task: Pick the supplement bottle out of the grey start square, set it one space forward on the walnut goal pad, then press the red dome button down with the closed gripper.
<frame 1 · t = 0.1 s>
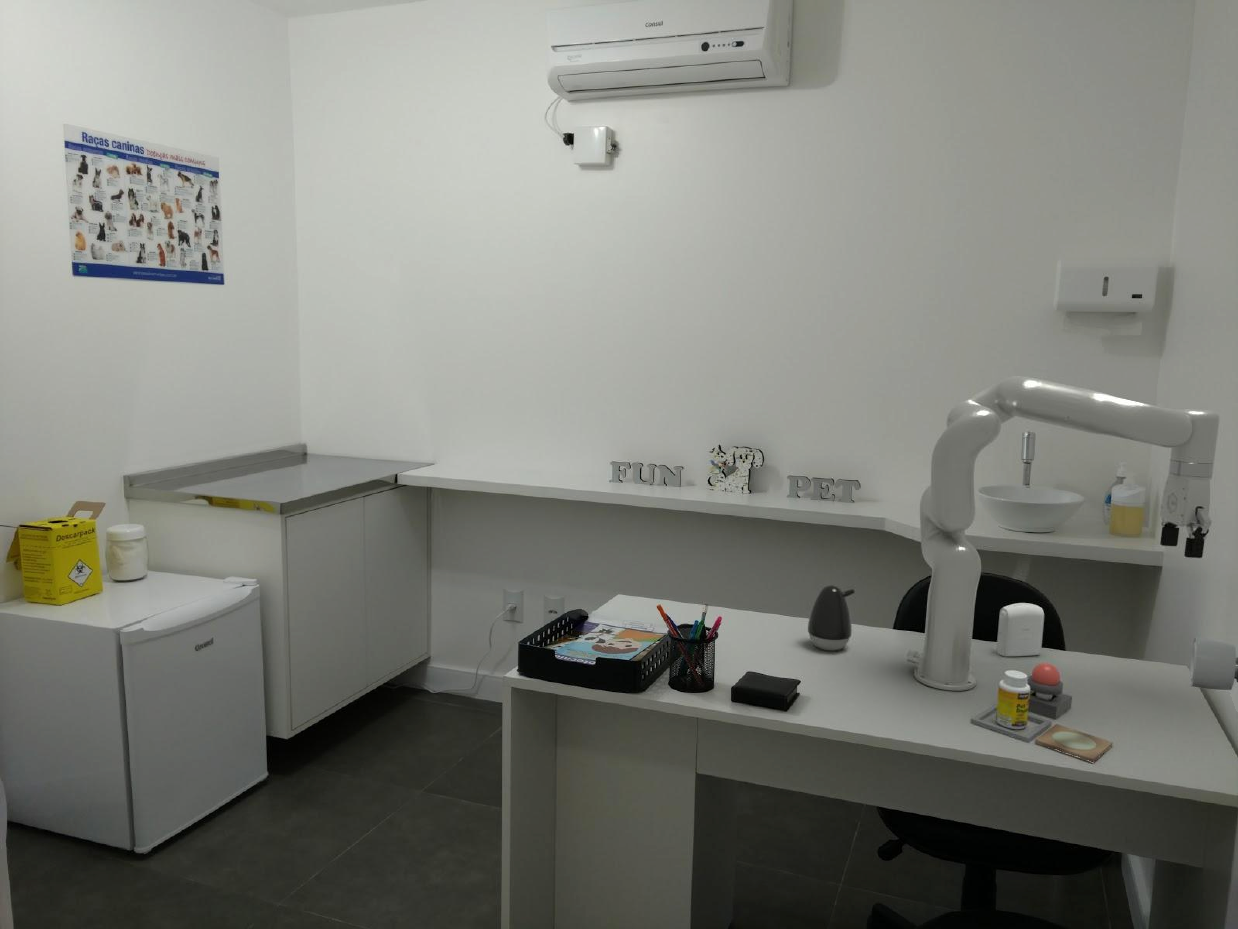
hand: (1180, 551, 183), 31 cm above the table, tool pointing down, fingers open, 9 cm apart
goal pad: (1073, 745, 163), on the table
supplement bottle: (1010, 725, 171), resting in start square
dome housing: (1042, 707, 179), on the table
start square: (1010, 724, 171), on the table
photo printer: (1018, 654, 209), on the table
pump dispenser: (828, 647, 211), on the table
dome cap: (1045, 682, 179), point 5 cm above the table, slide at 0.0 cm
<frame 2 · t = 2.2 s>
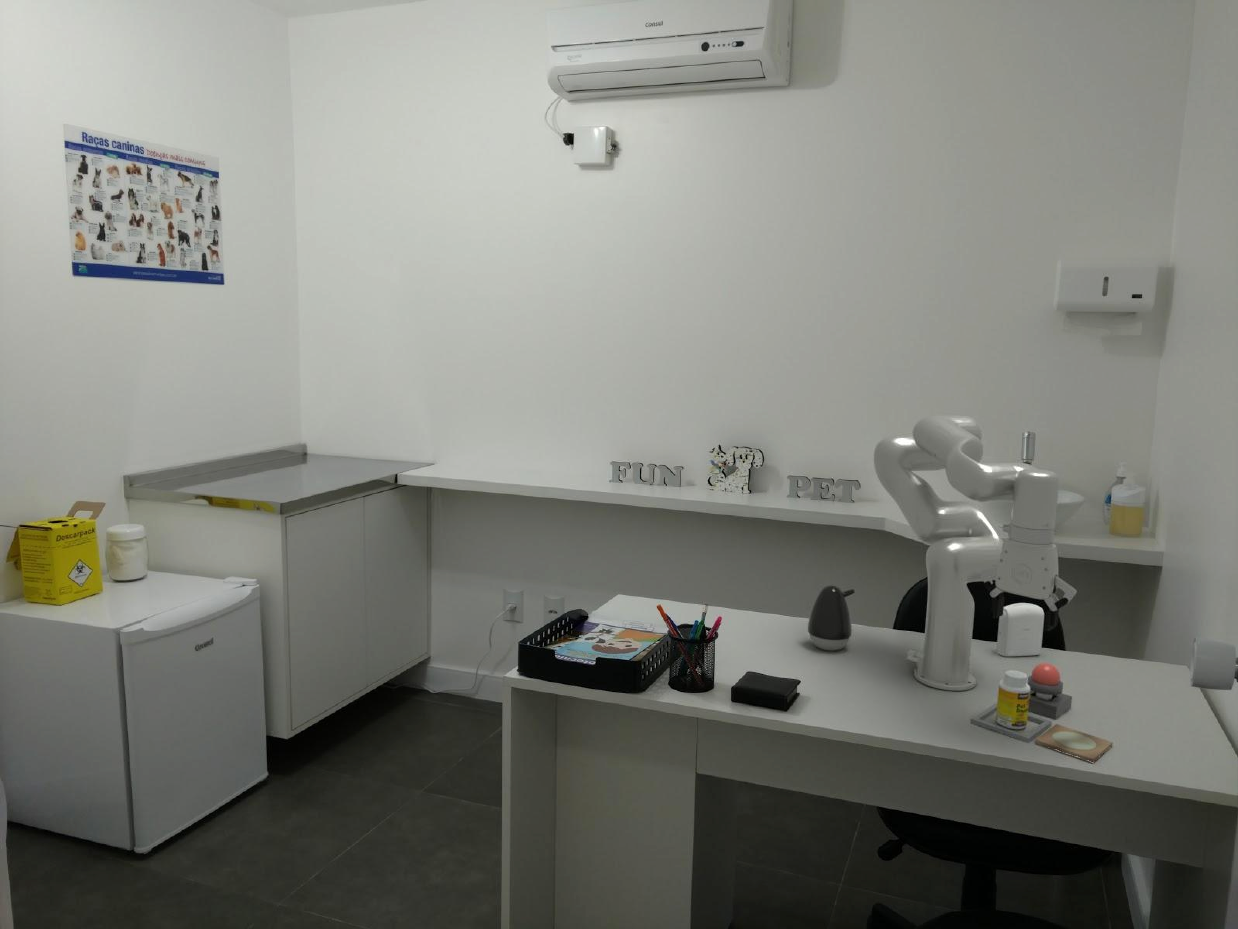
hand: (1023, 622, 168), 20 cm above the table, tool pointing down, fingers open, 9 cm apart
nothing on the table moved.
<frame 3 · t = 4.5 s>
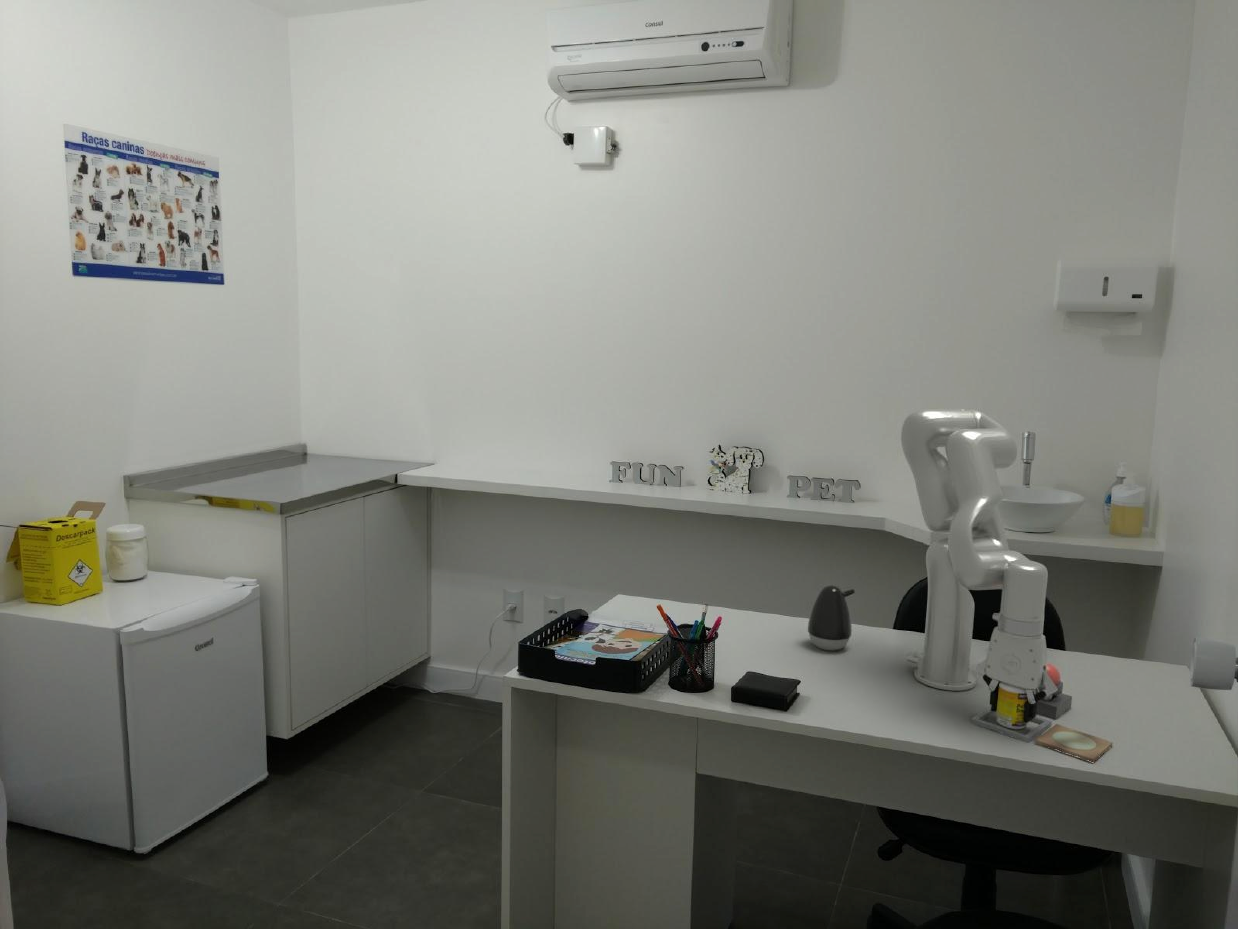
hand: (1012, 714, 171), 2 cm above the table, tool pointing down, fingers closed on supplement bottle, 5 cm apart
supplement bottle: (1010, 725, 171), resting in start square, touching gripper
everything else where it was.
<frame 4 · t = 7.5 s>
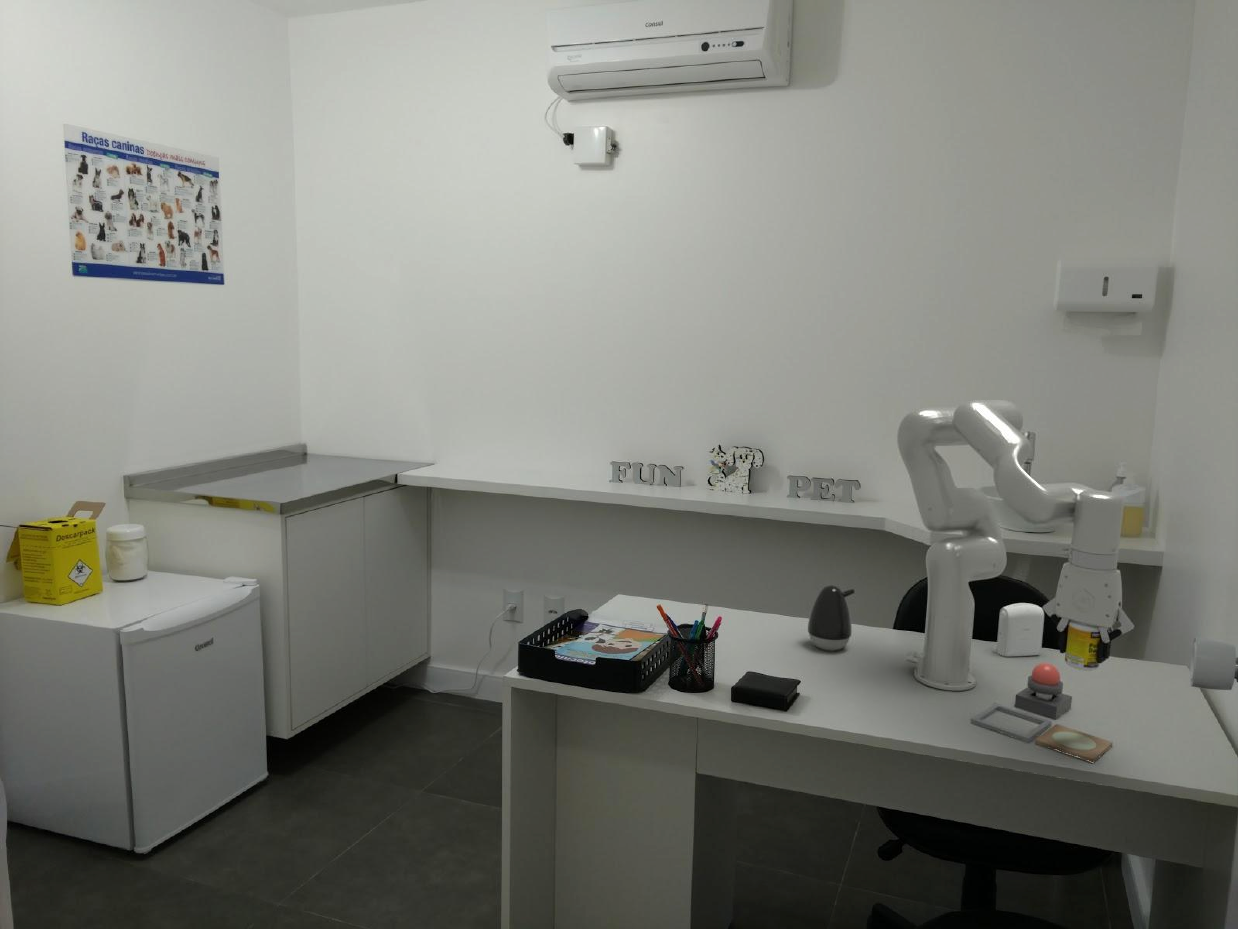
hand: (1082, 655, 160), 17 cm above the table, tool pointing down, fingers closed on supplement bottle, 5 cm apart
supplement bottle: (1081, 667, 161), point 15 cm above the table, touching gripper
everything else where it was.
when the fingers open (5 cm above the table, at t = 10.2 s): supplement bottle drops 2 cm, resting on goal pad.
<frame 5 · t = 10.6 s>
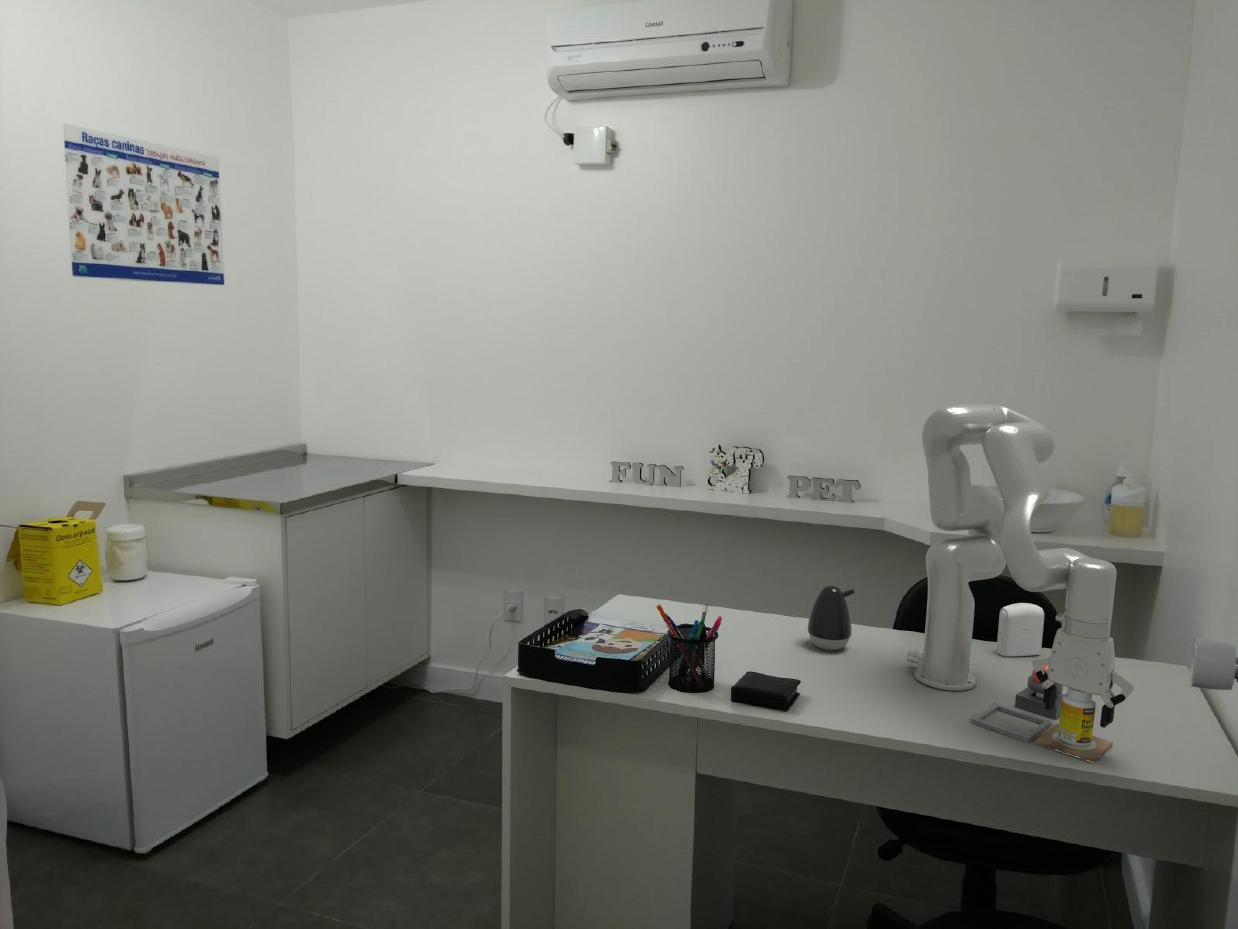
hand: (1076, 716, 162), 6 cm above the table, tool pointing down, fingers open, 9 cm apart
supplement bottle: (1074, 741, 163), point 1 cm above the table, touching goal pad
everything else where it was.
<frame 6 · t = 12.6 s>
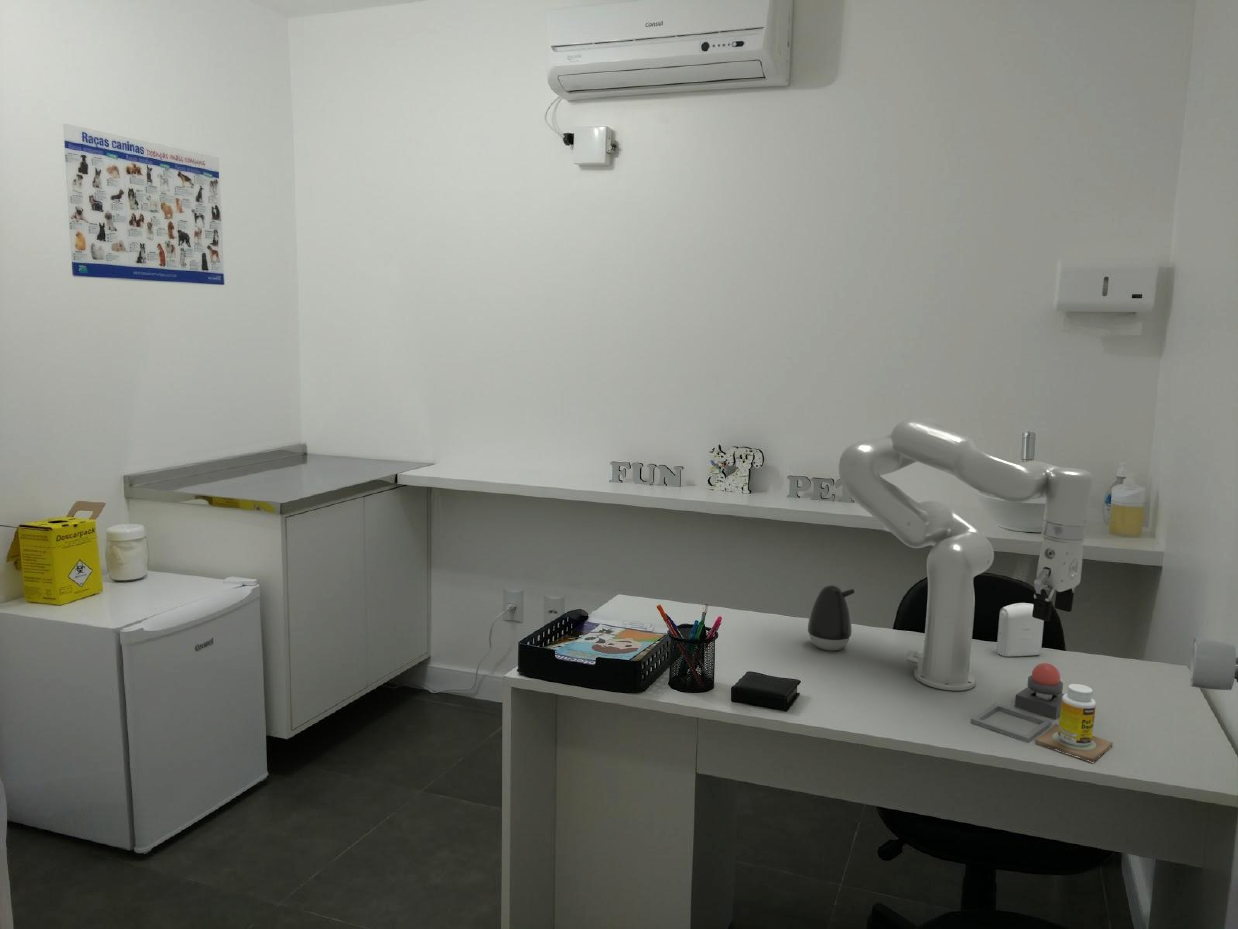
hand: (1051, 614, 176), 20 cm above the table, tool pointing down, fingers open, 9 cm apart
nothing on the table moved.
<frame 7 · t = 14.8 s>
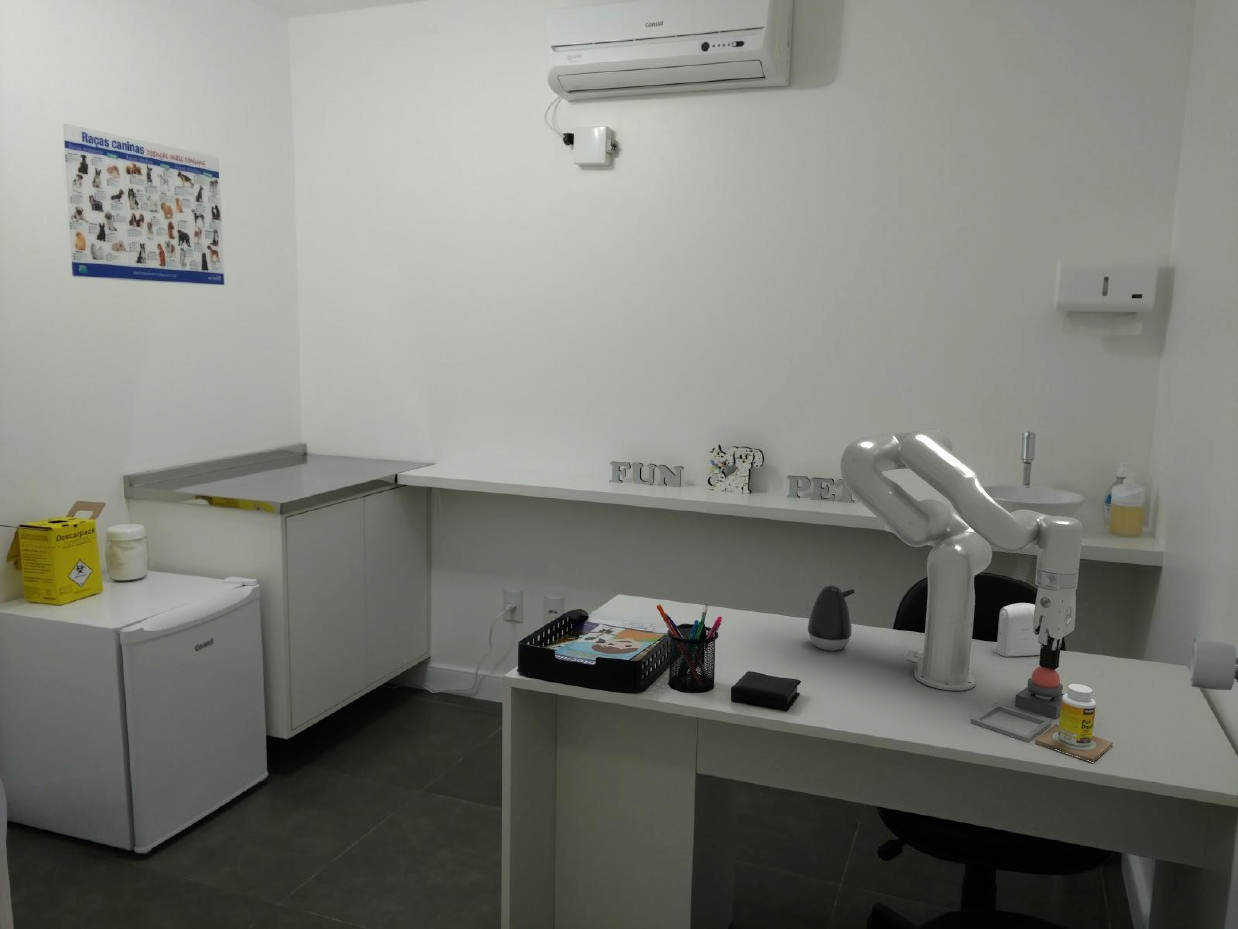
hand: (1048, 666, 178), 9 cm above the table, tool pointing down, fingers closed
dome cap: (1045, 684, 179), point 5 cm above the table, slide at -0.5 cm, touching gripper
everything else where it was.
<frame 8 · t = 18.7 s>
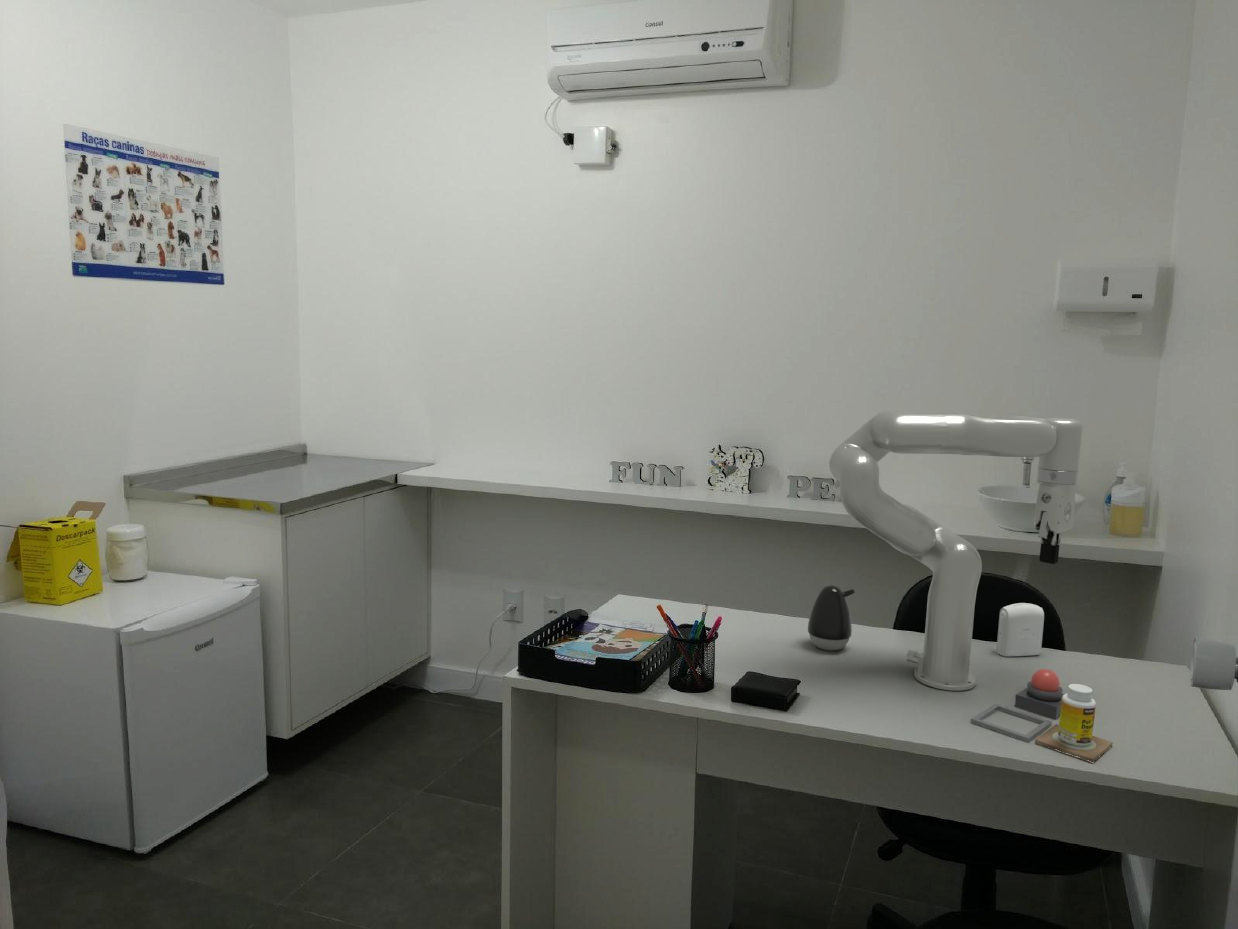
hand: (1048, 562, 188), 27 cm above the table, tool pointing down, fingers closed
dome cap: (1044, 688, 179), point 4 cm above the table, slide at -1.3 cm
everything else where it was.
at the end: supplement bottle 0.1 cm off-centre on the goal pad, point 0.7 cm above the goal pad's base; supplement bottle tilted 0°; dome cap slide at -1.3 cm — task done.
